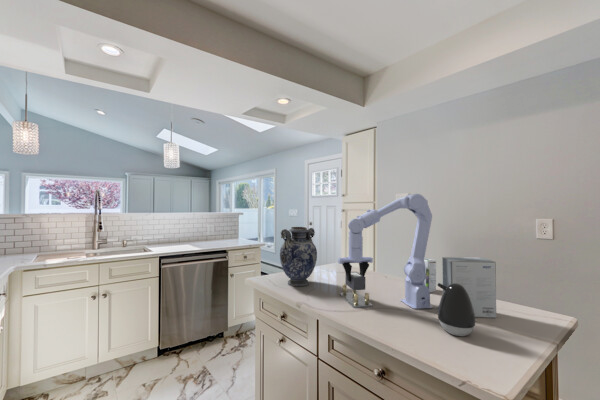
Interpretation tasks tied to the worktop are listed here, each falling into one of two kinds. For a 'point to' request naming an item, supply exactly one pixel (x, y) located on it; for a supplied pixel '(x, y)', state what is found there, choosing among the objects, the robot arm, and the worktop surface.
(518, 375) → the worktop surface
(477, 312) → the hard drive box
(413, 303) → the robot arm
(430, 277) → the syrup box
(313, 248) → the decorative vase
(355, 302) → the brass peg board
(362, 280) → the block
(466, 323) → the pump dispenser
